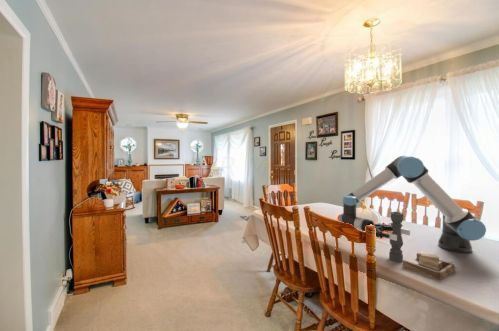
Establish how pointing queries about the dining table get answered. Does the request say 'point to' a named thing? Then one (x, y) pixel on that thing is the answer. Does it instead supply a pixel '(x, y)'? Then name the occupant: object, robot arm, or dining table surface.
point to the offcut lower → (431, 264)
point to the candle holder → (396, 246)
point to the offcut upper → (429, 257)
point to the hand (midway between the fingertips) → (403, 235)
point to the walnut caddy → (435, 274)
